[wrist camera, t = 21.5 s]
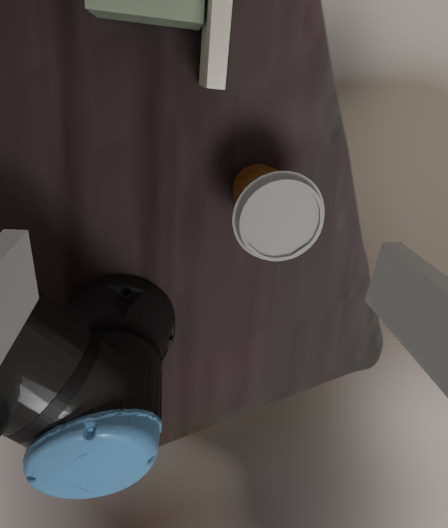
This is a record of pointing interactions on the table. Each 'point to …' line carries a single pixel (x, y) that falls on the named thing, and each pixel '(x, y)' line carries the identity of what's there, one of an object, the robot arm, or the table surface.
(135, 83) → the table surface
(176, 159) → the table surface
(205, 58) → the pale wall board
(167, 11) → the sage green block
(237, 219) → the disposable coffee cup
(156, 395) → the robot arm
